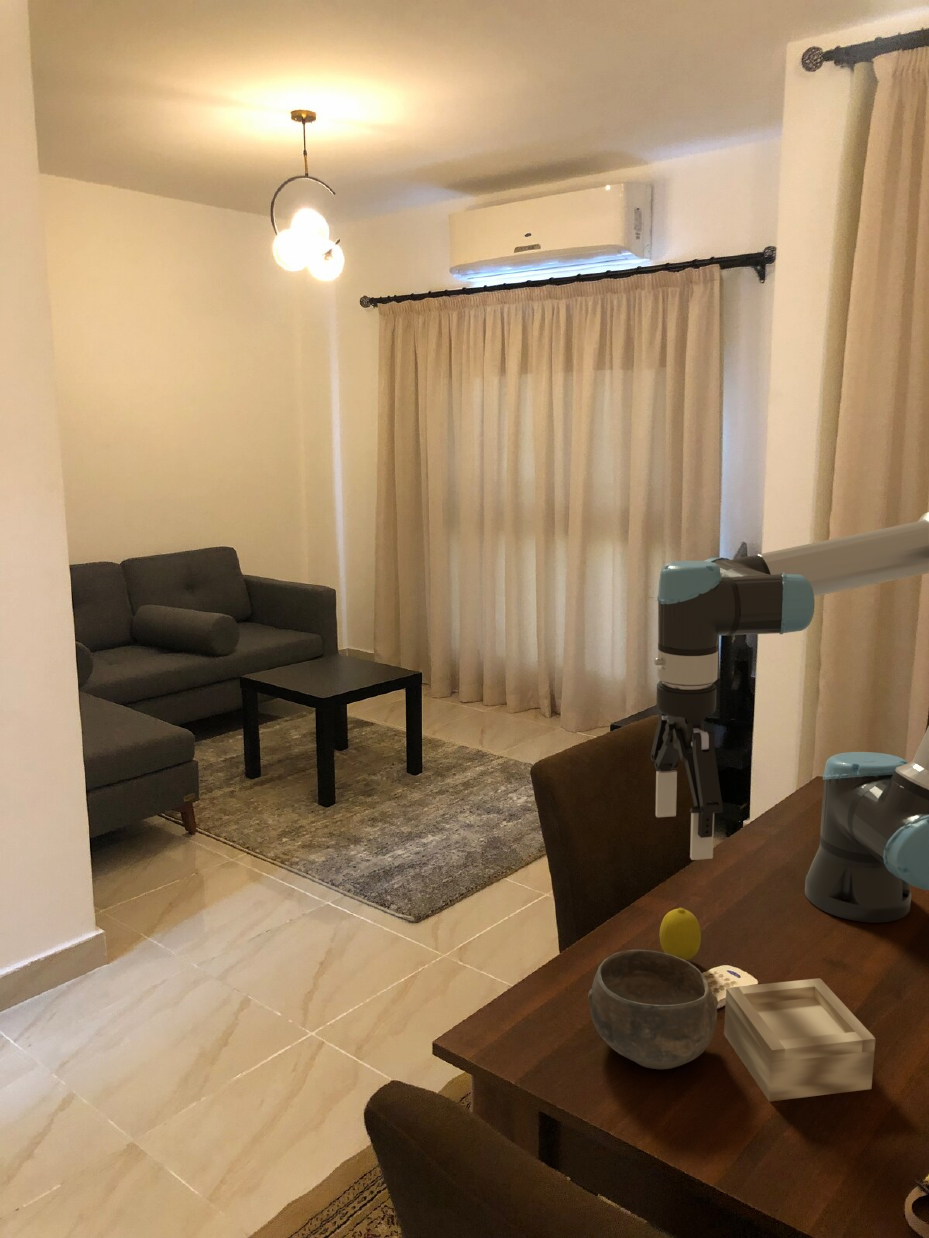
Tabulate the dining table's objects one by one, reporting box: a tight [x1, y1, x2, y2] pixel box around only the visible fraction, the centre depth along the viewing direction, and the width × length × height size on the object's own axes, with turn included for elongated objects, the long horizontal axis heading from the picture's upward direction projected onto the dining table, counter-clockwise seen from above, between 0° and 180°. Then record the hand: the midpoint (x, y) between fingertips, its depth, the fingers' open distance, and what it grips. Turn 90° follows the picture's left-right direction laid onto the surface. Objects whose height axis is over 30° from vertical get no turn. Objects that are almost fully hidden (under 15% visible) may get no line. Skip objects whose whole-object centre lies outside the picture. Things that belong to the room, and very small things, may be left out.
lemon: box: [659, 907, 702, 961], centre depth 133 cm, size 6×6×8 cm
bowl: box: [587, 949, 719, 1070], centre depth 114 cm, size 14×15×10 cm
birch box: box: [723, 978, 876, 1102], centre depth 112 cm, size 12×12×6 cm
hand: (682, 836), depth 130 cm, fingers open, 13 cm apart
